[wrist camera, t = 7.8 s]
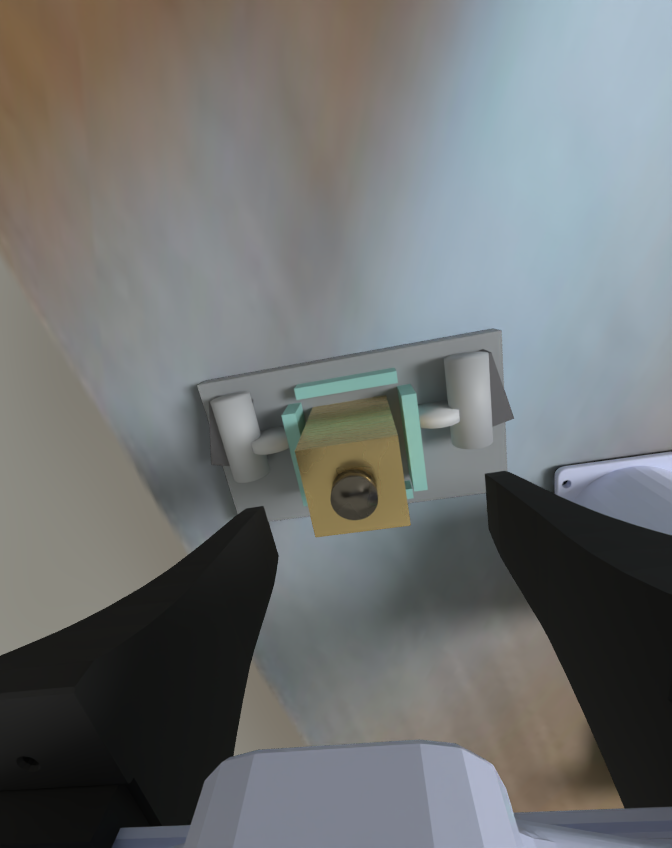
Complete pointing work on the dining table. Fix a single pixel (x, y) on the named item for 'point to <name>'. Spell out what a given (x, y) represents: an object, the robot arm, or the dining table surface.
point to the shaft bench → (358, 379)
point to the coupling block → (352, 468)
